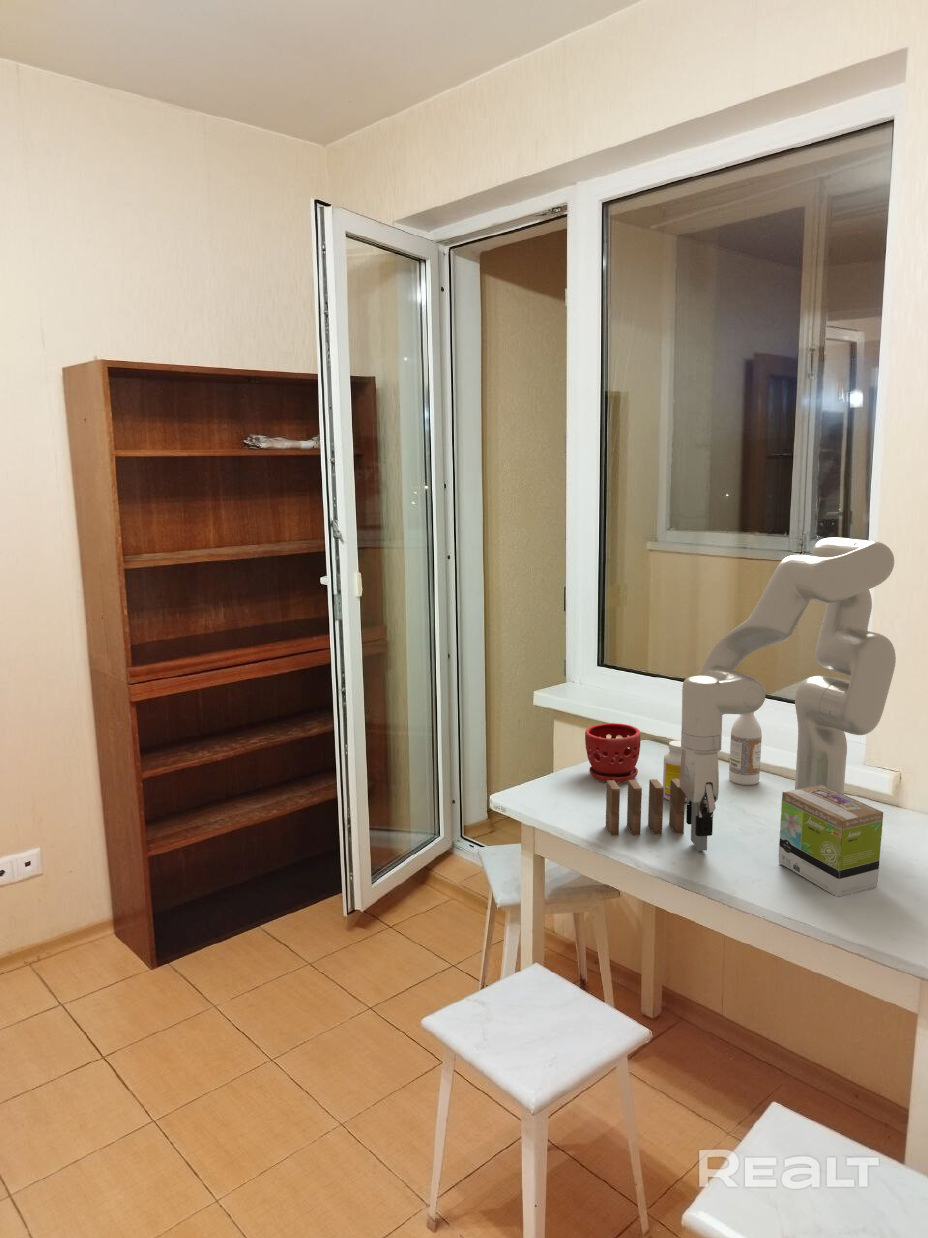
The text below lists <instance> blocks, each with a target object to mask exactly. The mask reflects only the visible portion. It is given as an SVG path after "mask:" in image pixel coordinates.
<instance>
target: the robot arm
mask: <svg viewBox="0 0 928 1238" xmlns="http://www.w3.org/2000/svg"><path fill="white" fill-rule="evenodd" d="M893 553H894V552H892V550H891V548H890V547H889V546H887V545H886V544H884V543H883V542H880V541H876V540H867V539H866V540H865V539H856V538H849V537H848V538H847V537H826V538H822V539H820V540H818V541H817V542H816V543H815V544H814V546H813V548H812V550H811V555H805V554H793V555H788V556H786V557H784V558H783V559H781V561H780V562H779V563H778V565H777V566H776V569H775V570H774V572H773V573H772V575H771V577H770V579H769V581H768V582H767V584H766V586H765V589H764V590H763V592H762V594H761V596H760V598H759V599H758V602H757V603H756V605H755V607H754V608H753V611H752V612H751V614H750V615H749V617H748V618H747V619H746V620H745V621H743V622H742V623H740V624H738V625H737V626H736V627H734V628H733V629H731V631H730V632H728V633H727V634H725V635H724V636H723V637H721V639H720V640H718V642H717V643H716V644H715V645H714V646H713V648H712V649H711V651H710V653H709V654H708V657H707V658H706V659H705V662H704V664H703V666H702V667H701V670H700V672H699V675H693V676H688V677H687V678H685V679H684V681H683V683H682V688H681V689H682V690H681V691H682V692H681V730H680V731H681V733H680V735H681V737H680V738H681V740H680V741H681V748H682V756H681V768H680V788H681V789H682V791H683V792H684V793H685V794H686V796H687V799H686V801H687V802H686V811H685V812H686V814H685V816H686V817H685V818H686V819H685V822H686V824H687V825H691V815H692V802H693V803H697V813H698V816H696V824H695V834H696V836H707V837H710V836H712V835H713V831H714V830H713V827H714V826H713V824H714V823H713V821H714V812H715V810H716V802H718V799H719V791H720V790H719V788H720V786H719V785H720V784H719V783H720V780H719V779H720V777H719V776H720V775H719V773H720V772H719V756H718V755H719V752H720V751H722V740H723V739H722V738H723V737H722V736H723V735H722V734H723V715H740V714H749V713H752V712H754V713H755V712H756V711H758V710H759V709H760V708H762V706H763V705H764V703H765V702H766V701H765V700H766V697H767V696H766V694H767V693H766V689H765V687H764V685H763V684H762V682H761V681H759V680H758V679H756V678H755V677H753V676H750V675H748V674H745V673H742V672H738V671H736V670H737V669H738V667H739V665H740V664H741V663H742V661H744V660H745V659H746V658H747V657H748V656H749V655H751V654H752V653H754V652H756V651H758V650H760V649H763V648H766V647H769V646H774V645H777V644H780V643H783V642H785V641H787V640H790V638H791V636H792V635H793V633H794V631H795V629H796V627H797V625H798V623H799V622H800V620H801V618H802V616H803V614H804V613H805V611H806V609H807V607H808V605H810V602H811V601H813V602H817V603H818V602H819V603H823V604H824V603H825V604H826V606H825V611H824V615H823V618H822V622H821V627H820V631H819V635H818V638H817V642H816V646H815V655H814V656H815V660H816V662H817V664H818V665H819V666H821V667H822V668H824V669H826V670H827V671H831V672H834V673H837V674H842V675H845V676H848V677H850V678H849V682H847V681H844V680H840V679H837V678H834V677H830V676H826V675H814V676H813V675H812V676H810V677H808V678H806V679H804V680H803V681H801V683H800V684H799V685H798V687H797V690H796V692H795V696H794V702H795V703H794V705H795V706H794V707H795V713H796V719H797V750H796V762H795V766H796V767H795V778H794V779H795V782H794V790H797V789H802V788H807V787H811V786H816V785H820V784H821V785H824V786H826V787H828V788H830V789H832V790H835V791H837V792H839V793H841V794H844V793H845V780H846V767H847V766H846V765H847V754H848V741H847V737H846V733H847V734H851V735H854V736H865V735H867V734H869V733H871V732H872V731H874V730H875V729H876V728H877V726H878V724H879V723H880V721H881V718H882V716H883V713H884V711H885V710H884V709H885V706H886V702H887V699H888V694H889V692H890V687H891V683H892V680H893V677H894V673H895V668H896V660H897V659H896V657H897V656H896V650H895V647H894V645H893V643H892V641H891V640H890V639H889V638H888V637H886V636H885V635H883V634H880V633H878V632H874V631H870V630H869V631H868V628H869V624H870V618H871V614H872V608H873V602H872V601H873V600H872V595H871V592H870V589H874V588H875V587H877V586H879V585H881V584H882V583H884V582H886V580H887V579H888V578H889V577H891V576H890V575H891V574H892V572H893V570H894V567H895V557H894V554H893ZM844 795H845V794H844ZM702 798H705V799H706V800H702ZM701 804H706V807H703V809H702V806H701Z"/></svg>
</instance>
